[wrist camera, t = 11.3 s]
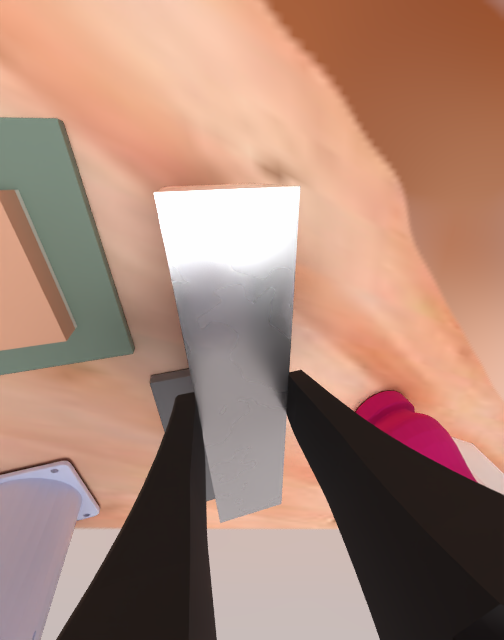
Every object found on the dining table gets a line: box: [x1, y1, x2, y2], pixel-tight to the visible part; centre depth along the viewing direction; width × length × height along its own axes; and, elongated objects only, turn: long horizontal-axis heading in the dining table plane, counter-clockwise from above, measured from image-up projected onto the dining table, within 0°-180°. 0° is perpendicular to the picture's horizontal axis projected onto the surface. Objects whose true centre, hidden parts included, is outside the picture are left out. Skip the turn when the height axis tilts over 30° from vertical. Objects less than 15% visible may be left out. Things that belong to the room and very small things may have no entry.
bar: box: [154, 183, 300, 523], centre depth 12 cm, size 4×16×5 cm, turn 2°
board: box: [150, 369, 215, 501], centre depth 23 cm, size 9×17×1 cm, turn 2°
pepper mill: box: [356, 391, 478, 483], centre depth 19 cm, size 7×7×20 cm
